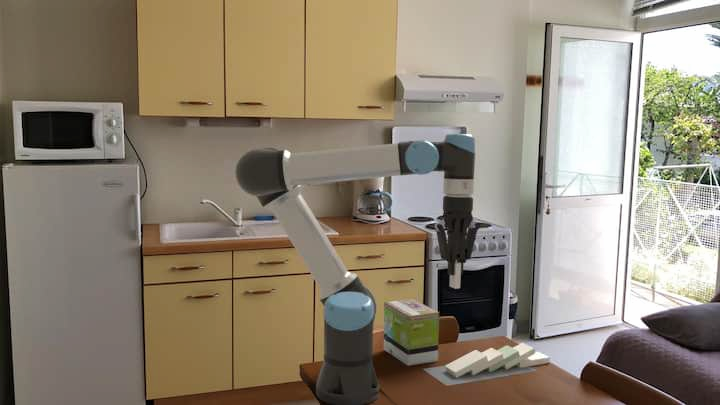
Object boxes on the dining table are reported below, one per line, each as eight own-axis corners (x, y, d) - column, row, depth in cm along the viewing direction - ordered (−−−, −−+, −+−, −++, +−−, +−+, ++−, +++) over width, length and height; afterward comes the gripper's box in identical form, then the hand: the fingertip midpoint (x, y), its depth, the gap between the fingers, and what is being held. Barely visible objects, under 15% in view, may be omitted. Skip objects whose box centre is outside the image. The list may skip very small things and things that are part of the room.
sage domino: (488, 367, 156) (518, 350, 160) (477, 360, 161) (507, 345, 164) (490, 372, 157) (519, 356, 160) (479, 365, 161) (508, 350, 165)
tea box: (382, 350, 174) (383, 301, 173) (412, 346, 178) (413, 297, 177) (407, 368, 160) (408, 314, 159) (439, 363, 165) (440, 310, 163)
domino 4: (520, 361, 160) (549, 357, 164) (508, 355, 165) (537, 351, 169) (519, 367, 161) (549, 362, 165) (508, 361, 165) (537, 356, 169)
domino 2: (471, 369, 154) (502, 353, 158) (461, 363, 159) (491, 347, 162) (473, 375, 155) (503, 358, 158) (462, 368, 159) (492, 352, 163)
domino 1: (455, 372, 152) (486, 355, 156) (444, 365, 157) (475, 349, 160) (456, 377, 153) (488, 361, 156) (446, 371, 157) (477, 354, 161)
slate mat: (446, 388, 148) (446, 385, 148) (422, 371, 159) (422, 368, 158) (537, 373, 159) (537, 370, 159) (509, 357, 170) (509, 355, 170)
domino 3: (505, 364, 158) (534, 348, 162) (493, 358, 163) (522, 342, 167) (506, 369, 159) (535, 353, 162) (495, 363, 163) (523, 347, 167)
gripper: (443, 197, 145) (440, 292, 147) (488, 196, 150) (484, 288, 152) (428, 194, 152) (425, 285, 154) (471, 194, 157) (468, 282, 159)
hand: (454, 287), depth 153 cm, fingers closed
